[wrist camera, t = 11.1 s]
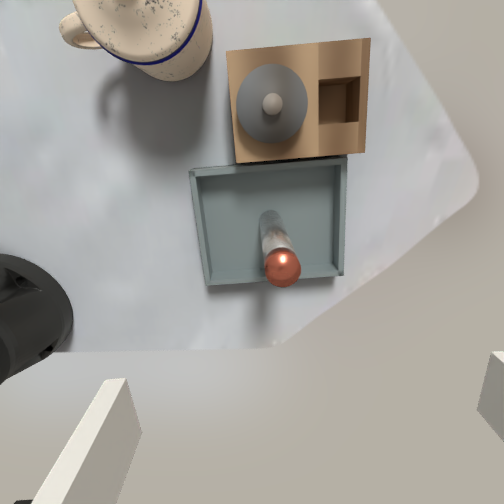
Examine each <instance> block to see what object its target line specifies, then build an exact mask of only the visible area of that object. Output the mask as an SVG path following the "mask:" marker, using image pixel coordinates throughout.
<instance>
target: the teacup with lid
mask: <svg viewBox="0 0 504 504" xmlns="http://www.w3.org/2000/svg"><path fill="white" fill-rule="evenodd" d="M73 3H74V6H75V8H76V12H74V13H71V14H69V15H67V16H66V17H64V18H63V19H62V20H61V22H60V24H59V30H60V33H61V35H62V37H63V39H64V40H65V42H66V43H68V44H69V45H71V46H74V47H77V48H81V49H104V50H106V51H107V52H108V53H110V54H111V55H113V56H114V57H116V58H118V59H120V60H122V61H125V62H128V63H131V64H133V65H135V66H136V67H138V68H139V69H141V70H142V71H144V72H145V73H147V74H148V75H150V76H152V77H154V78H157V79H160V80H164V81H179V80H183V79H186V78H188V77H190V76H191V75H193V74H194V73H195V72H197V71H198V70H199V69H200V68H201V66H202V65H203V64H204V62H205V60H206V58H207V56H208V54H209V51H210V48H211V43H212V33H213V30H212V20H211V16H210V12H209V9H208V6H207V3H206V0H73ZM85 31H88V32H85Z"/></svg>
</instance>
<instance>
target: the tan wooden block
mask: <svg viewBox="0 0 504 504" xmlns="http://www.w3.org/2000/svg"><path fill="white" fill-rule="evenodd" d="M370 42H371V38H363V39H352V40H341V41H330V42H319V43H309V44H298V45H287V46H276V47H265V48H254V49H244V50H233V51H226V58H227V69H228V80H229V90H230V101H231V111H232V122H233V133H234V143H235V154H236V163H245V162H257V161H269V160H281V159H293V158H305V157H317V156H329V155H341V154H353V153H365V140H366V120H367V101H368V81H369V61H370Z"/></svg>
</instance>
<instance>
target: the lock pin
mask: <svg viewBox="0 0 504 504" xmlns="http://www.w3.org/2000/svg"><path fill="white" fill-rule="evenodd" d="M259 224H260V233H261V241H262V250H263V258H264V267H265V275H266V277H267V279H268V281H269V282H270V283H271V284H273V285H275V286H278V287H287V286H290V285H292V284H294V283H295V282H296V281H297V280H298V279H299V277H300V275H301V265H300V263H299V260H298V258H297V255H296V253H295V250H294V248H293V245H292V243H291V240H290V238H289V236H288V233H287V231H286V228H285V226H284V223H283V221H282V218H281V216H280V214H279V213H278V212H276V211H273V210H268V211H265V212H264V213H263V214H262V215H261V216H260V219H259Z"/></svg>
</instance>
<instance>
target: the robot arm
mask: <svg viewBox="0 0 504 504" xmlns="http://www.w3.org/2000/svg"><path fill="white" fill-rule="evenodd" d="M71 326H72V309H71V305H70V302H69V300H68V297H67V295H66V294H65V292H64V290H63V289H62V287H61V286H60V285H59V284H58V282H57V281H56V280H55V279H54V278H53V277H52V276H51V275H50V274H48V273H47V272H46V271H44V270H43V269H42V268H40V267H39V266H37V265H35V264H33V263H31V262H29V261H27V260H25V259H22V258H19V257H16V256H12V255H6V254H0V385H1V383H3V382H4V381H5V380H6V379H8V378H10V377H11V376H13V375H15V374H17V373H19V372H21V371H23V370H24V369H26V368H28V367H30V366H32V365H34V364H36V363H38V362H40V361H41V360H43V359H45V358H46V357H48V356H49V355H51V354H52V353H53V352H54V351H55V350H56V349H57V348H58V347H59V346H60V345H61V344H62V342H63V341H64V340H65V339H66V338H67V336H68V334H69V332H70V330H71ZM477 411H478V412H479V413H480V414H481V415H482V417H483V418H484V419H485V420H486V421H487V423H488V424H489V425H490V426H491V427H492V428H493V430H494V431H495V432H496V433H497V434H498V436H499V437H500V438H501V439H502V440H503V442H504V351H500V352H491V355H490V359H489V363H488V367H487V371H486V375H485V379H484V383H483V387H482V391H481V395H480V399H479V403H478V407H477ZM141 434H142V431H141V428H140V424H139V421H138V417H137V414H136V410H135V407H134V404H133V400H132V397H131V394H130V390H129V386H128V383H127V380H126V378H121V379H107V380H105V381H104V383H103V384H102V386H101V388H100V389H99V391H98V393H97V394H96V396H95V398H94V399H93V401H92V403H91V404H90V406H89V408H88V410H87V411H86V413H85V414H84V416H83V418H82V420H81V421H80V423H79V424H78V426H77V428H76V429H75V431H74V433H73V434H72V436H71V438H70V439H69V441H68V443H67V445H66V446H65V448H64V450H63V451H62V453H61V455H60V456H59V458H58V460H57V461H56V463H55V465H54V466H53V468H52V470H51V471H50V473H49V475H48V476H47V478H46V480H45V481H44V483H43V485H42V486H41V488H40V490H39V491H38V493H37V495H36V497H35V498H34V500H20V501H16V502H15V503H14V504H116V503H117V500H118V497H119V494H120V492H121V489H122V486H123V483H124V480H125V478H126V475H127V472H128V470H129V467H130V464H131V461H132V459H133V456H134V453H135V450H136V448H137V445H138V442H139V439H140V436H141Z"/></svg>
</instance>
